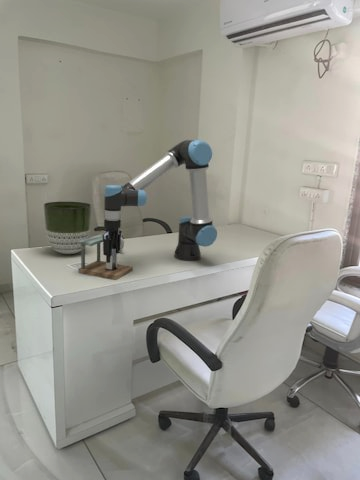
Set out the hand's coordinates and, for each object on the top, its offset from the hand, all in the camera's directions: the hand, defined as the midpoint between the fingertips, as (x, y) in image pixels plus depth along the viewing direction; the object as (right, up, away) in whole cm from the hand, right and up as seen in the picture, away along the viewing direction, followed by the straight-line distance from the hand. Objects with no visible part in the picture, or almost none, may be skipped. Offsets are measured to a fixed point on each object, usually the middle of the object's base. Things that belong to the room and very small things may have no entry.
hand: (111, 267), depth 175 cm
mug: (-4, +6, +37) cm, 37 cm away
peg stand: (-3, -2, +2) cm, 4 cm away
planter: (-29, +6, +29) cm, 42 cm away
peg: (0, -3, +1) cm, 3 cm away
